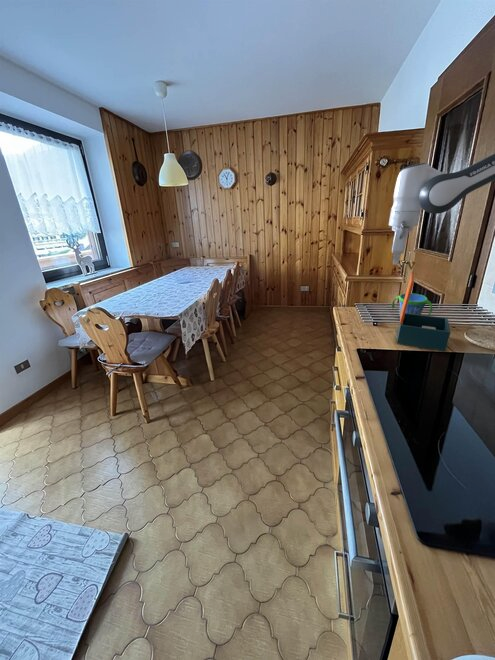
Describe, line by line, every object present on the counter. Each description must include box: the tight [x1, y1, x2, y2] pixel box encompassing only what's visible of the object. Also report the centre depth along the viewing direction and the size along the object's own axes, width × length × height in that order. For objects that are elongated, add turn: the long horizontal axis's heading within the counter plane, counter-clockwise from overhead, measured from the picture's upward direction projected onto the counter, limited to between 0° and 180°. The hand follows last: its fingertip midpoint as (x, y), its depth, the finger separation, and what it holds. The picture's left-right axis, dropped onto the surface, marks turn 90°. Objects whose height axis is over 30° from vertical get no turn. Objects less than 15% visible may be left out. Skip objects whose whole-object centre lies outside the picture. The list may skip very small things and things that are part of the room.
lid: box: [399, 271, 415, 324], centre depth 104 cm, size 16×12×1 cm
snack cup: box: [391, 292, 433, 317], centre depth 123 cm, size 16×10×10 cm
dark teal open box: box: [396, 313, 452, 352], centre depth 107 cm, size 15×12×8 cm
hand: (396, 261), depth 101 cm, fingers open, 8 cm apart
